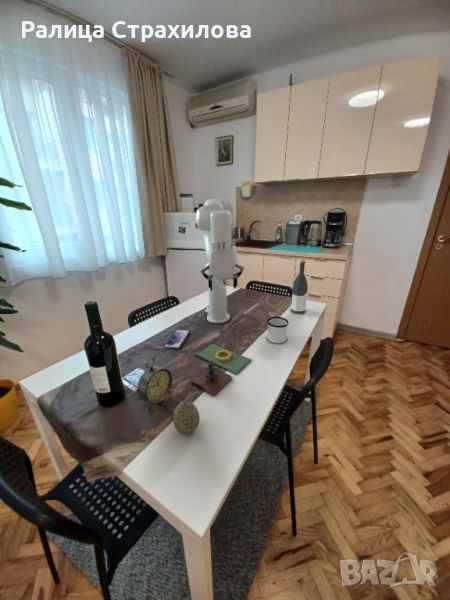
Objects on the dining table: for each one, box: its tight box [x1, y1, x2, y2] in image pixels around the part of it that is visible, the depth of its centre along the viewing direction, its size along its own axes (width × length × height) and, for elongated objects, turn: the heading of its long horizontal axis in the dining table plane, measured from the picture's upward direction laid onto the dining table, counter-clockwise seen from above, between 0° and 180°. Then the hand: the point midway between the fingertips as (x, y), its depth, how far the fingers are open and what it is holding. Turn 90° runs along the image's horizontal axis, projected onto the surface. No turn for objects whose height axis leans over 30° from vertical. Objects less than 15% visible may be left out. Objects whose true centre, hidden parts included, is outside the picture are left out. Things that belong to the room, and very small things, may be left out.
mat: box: [196, 343, 251, 375], centre depth 97 cm, size 20×10×1 cm, turn 53°
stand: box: [191, 361, 233, 396], centre depth 83 cm, size 10×10×8 cm
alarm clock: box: [136, 357, 173, 411], centre depth 74 cm, size 11×5×16 cm, turn 148°
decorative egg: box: [172, 400, 200, 435], centre depth 65 cm, size 7×7×10 cm
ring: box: [215, 349, 232, 362], centre depth 96 cm, size 6×6×1 cm
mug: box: [266, 316, 290, 344], centre depth 109 cm, size 12×10×9 cm
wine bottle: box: [290, 258, 309, 315], centre depth 131 cm, size 8×8×30 cm
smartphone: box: [164, 329, 190, 349], centre depth 111 cm, size 7×1×15 cm
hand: (223, 288), depth 97 cm, fingers open, 9 cm apart
